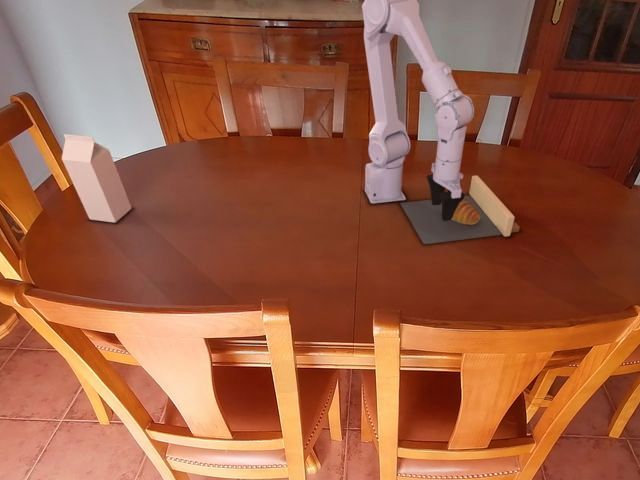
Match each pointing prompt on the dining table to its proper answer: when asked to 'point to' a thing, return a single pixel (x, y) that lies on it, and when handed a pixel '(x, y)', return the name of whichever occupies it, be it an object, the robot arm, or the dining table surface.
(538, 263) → the dining table surface
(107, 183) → the milk carton
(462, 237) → the placemat
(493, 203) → the back board
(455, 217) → the pastry
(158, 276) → the dining table surface
